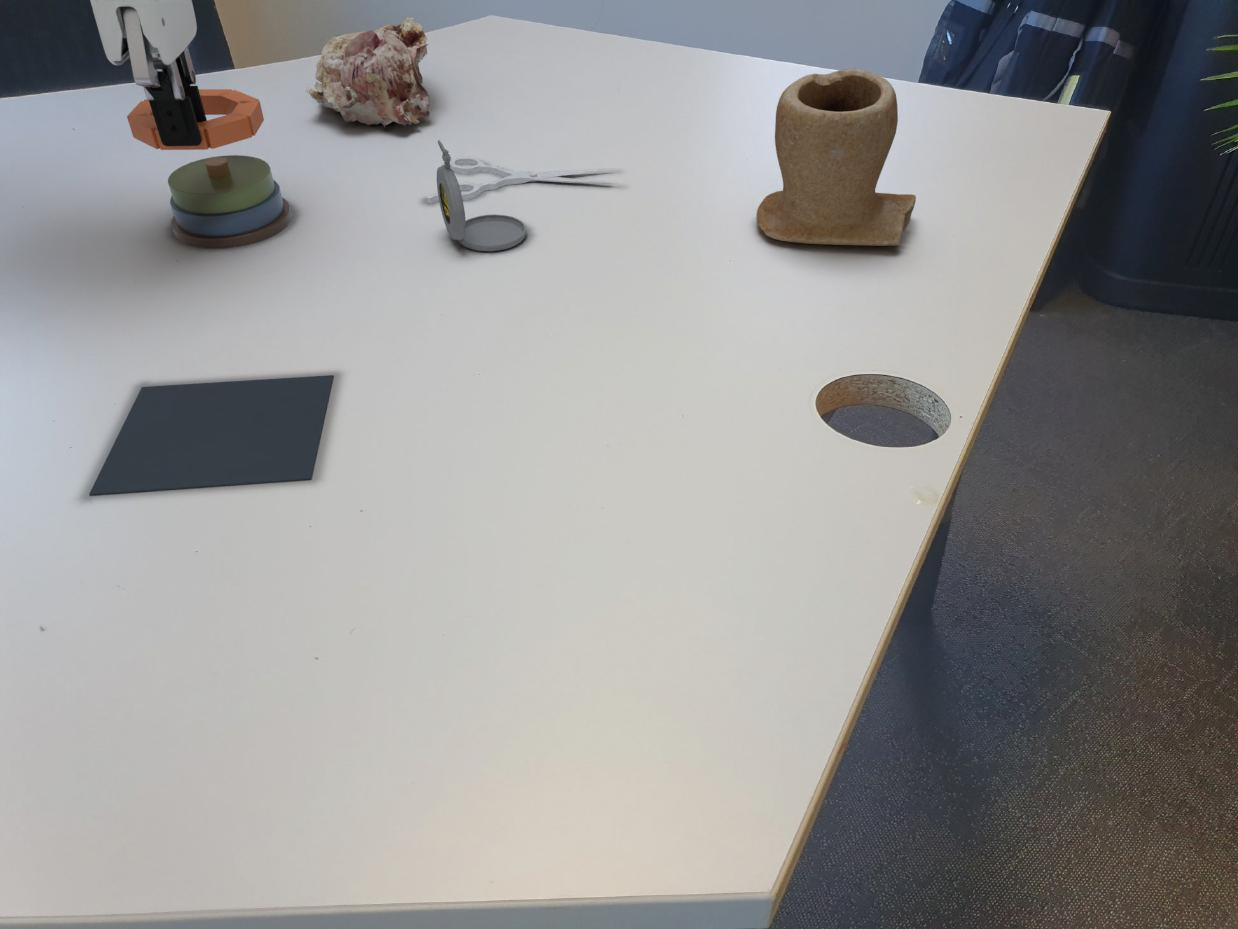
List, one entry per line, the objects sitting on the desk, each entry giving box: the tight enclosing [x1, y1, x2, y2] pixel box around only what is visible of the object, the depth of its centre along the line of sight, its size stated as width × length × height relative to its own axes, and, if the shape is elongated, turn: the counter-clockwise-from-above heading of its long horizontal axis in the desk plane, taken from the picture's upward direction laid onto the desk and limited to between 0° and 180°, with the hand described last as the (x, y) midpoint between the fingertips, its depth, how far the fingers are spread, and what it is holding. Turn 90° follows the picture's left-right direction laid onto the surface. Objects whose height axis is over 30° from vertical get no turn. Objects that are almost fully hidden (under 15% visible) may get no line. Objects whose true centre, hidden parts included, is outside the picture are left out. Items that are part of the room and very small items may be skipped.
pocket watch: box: [436, 139, 527, 252], centre depth 83 cm, size 8×8×10 cm
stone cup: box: [755, 68, 917, 247], centre depth 82 cm, size 15×12×15 cm
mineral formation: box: [305, 17, 431, 128], centre depth 111 cm, size 23×16×10 cm
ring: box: [126, 88, 265, 151], centre depth 82 cm, size 11×11×2 cm
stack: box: [167, 154, 293, 250], centre depth 87 cm, size 11×11×6 cm
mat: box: [88, 374, 335, 497], centre depth 63 cm, size 14×12×1 cm
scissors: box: [426, 156, 618, 204], centre depth 96 cm, size 11×1×20 cm
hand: (186, 137), depth 79 cm, fingers closed on ring, 2 cm apart
